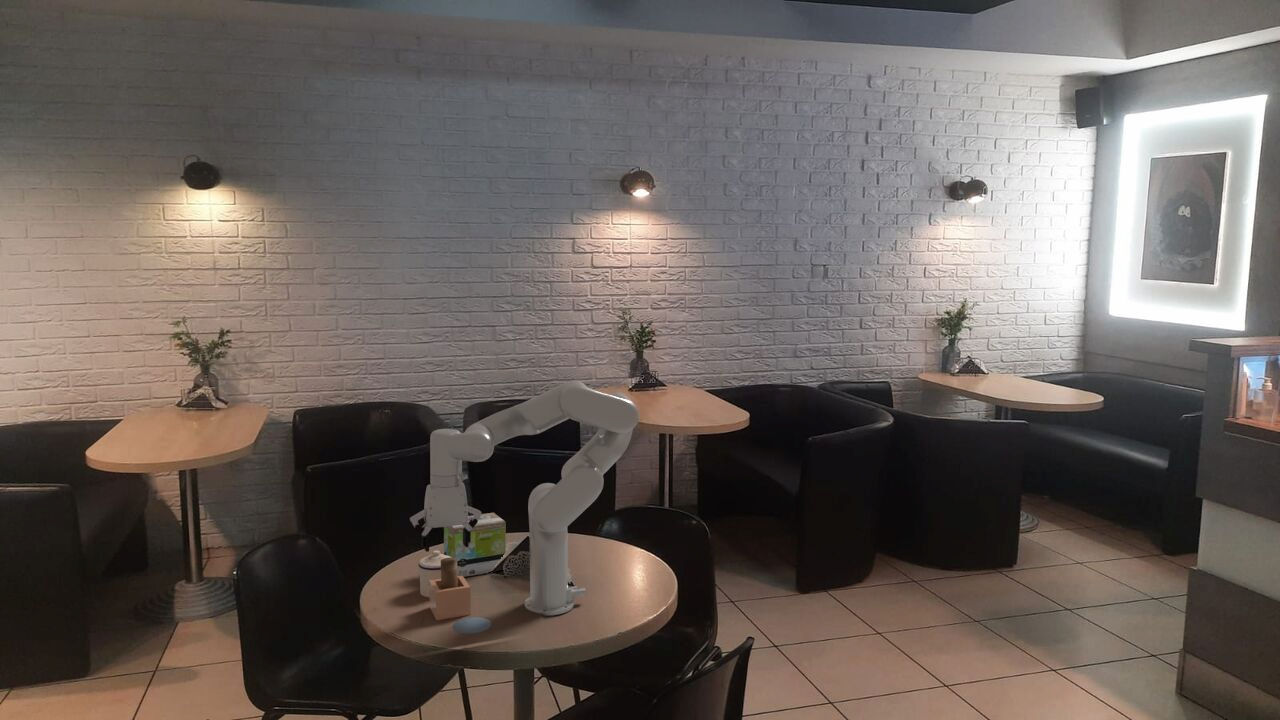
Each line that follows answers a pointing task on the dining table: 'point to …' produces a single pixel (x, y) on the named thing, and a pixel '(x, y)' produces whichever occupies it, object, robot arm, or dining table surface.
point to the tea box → (477, 545)
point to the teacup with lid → (430, 570)
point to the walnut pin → (449, 573)
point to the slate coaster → (472, 625)
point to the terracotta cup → (450, 599)
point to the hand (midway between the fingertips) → (446, 547)
